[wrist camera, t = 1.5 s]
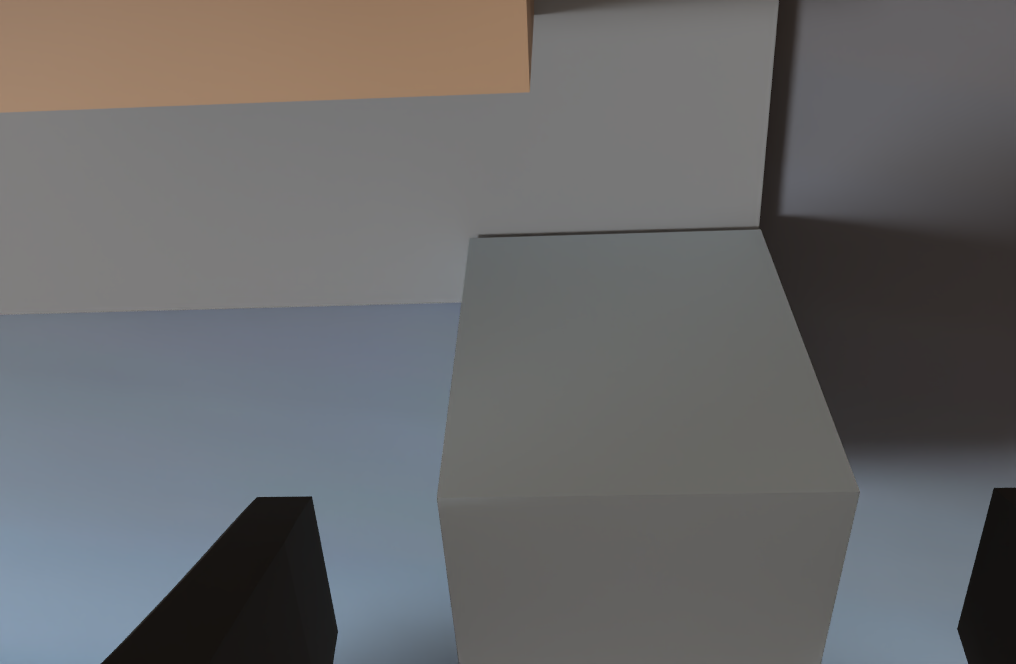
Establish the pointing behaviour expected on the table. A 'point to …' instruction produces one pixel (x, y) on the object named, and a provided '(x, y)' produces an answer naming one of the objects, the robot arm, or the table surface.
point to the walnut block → (257, 51)
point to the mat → (392, 172)
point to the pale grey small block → (638, 457)
